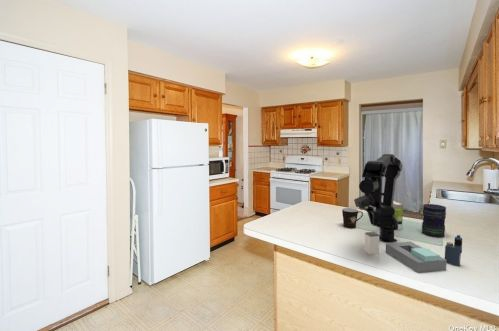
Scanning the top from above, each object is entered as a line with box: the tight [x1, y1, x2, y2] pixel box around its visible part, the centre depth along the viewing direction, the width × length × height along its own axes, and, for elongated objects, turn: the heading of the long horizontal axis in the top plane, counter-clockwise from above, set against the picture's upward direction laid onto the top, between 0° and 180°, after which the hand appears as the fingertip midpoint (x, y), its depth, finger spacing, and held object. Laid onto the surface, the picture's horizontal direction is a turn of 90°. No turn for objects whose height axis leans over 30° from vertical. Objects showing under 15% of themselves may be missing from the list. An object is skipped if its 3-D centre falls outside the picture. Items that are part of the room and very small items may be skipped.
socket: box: [385, 241, 448, 274], centre depth 104 cm, size 18×12×4 cm, turn 8°
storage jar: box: [421, 203, 447, 239], centre depth 131 cm, size 10×10×15 cm
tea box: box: [381, 198, 404, 231], centre depth 145 cm, size 15×10×15 cm, turn 179°
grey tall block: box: [364, 231, 380, 255], centre depth 112 cm, size 4×4×9 cm
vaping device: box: [444, 234, 463, 267], centre depth 100 cm, size 3×5×12 cm, turn 36°
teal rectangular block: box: [411, 247, 441, 262], centre depth 98 cm, size 7×6×2 cm
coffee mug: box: [341, 207, 364, 230], centre depth 145 cm, size 12×9×10 cm
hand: (373, 225), depth 111 cm, fingers closed
